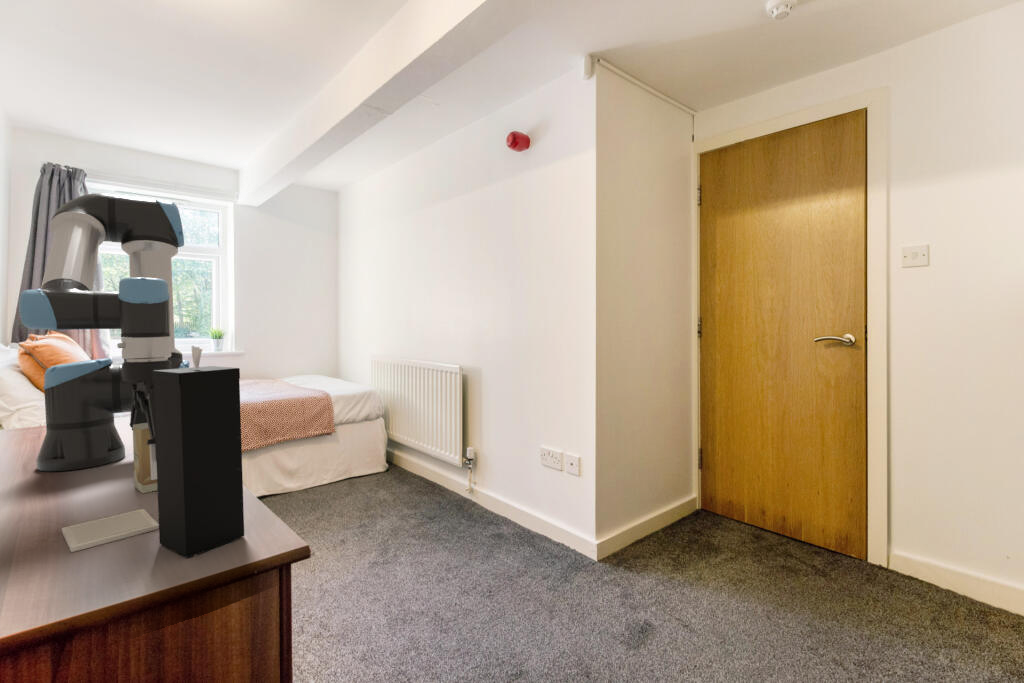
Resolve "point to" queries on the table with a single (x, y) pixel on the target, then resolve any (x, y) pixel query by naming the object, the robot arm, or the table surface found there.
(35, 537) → the table surface
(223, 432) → the tissue box
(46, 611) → the table surface
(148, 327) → the robot arm
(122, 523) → the coaster
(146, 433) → the skincare box
